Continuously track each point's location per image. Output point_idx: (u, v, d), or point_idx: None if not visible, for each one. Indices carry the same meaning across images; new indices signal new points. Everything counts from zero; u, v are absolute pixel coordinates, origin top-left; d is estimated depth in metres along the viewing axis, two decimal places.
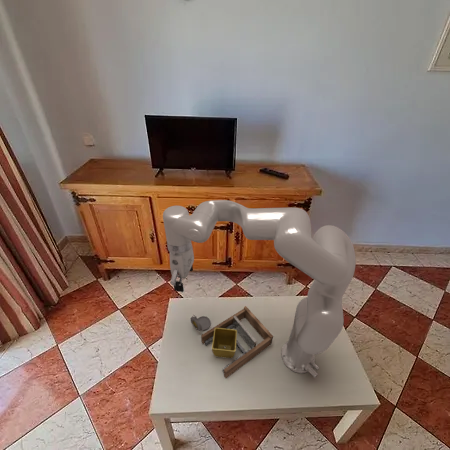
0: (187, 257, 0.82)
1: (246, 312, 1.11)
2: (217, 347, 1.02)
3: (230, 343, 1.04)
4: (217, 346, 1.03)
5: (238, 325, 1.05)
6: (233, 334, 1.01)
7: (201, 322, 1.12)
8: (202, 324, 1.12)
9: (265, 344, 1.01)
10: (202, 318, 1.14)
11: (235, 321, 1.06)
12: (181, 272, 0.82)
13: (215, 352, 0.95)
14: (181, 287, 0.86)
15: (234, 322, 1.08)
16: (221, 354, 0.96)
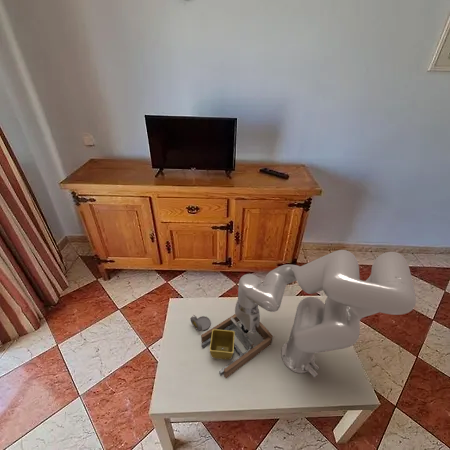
0: None
1: None
2: (215, 349, 1.02)
3: (228, 344, 1.03)
4: (215, 348, 1.02)
5: (235, 327, 1.05)
6: (231, 335, 1.01)
7: (201, 322, 1.12)
8: (202, 324, 1.12)
9: (265, 344, 1.01)
10: (202, 318, 1.14)
11: (232, 323, 1.06)
12: (258, 323, 0.96)
13: (213, 354, 0.95)
14: None
15: (231, 324, 1.07)
16: (219, 356, 0.96)
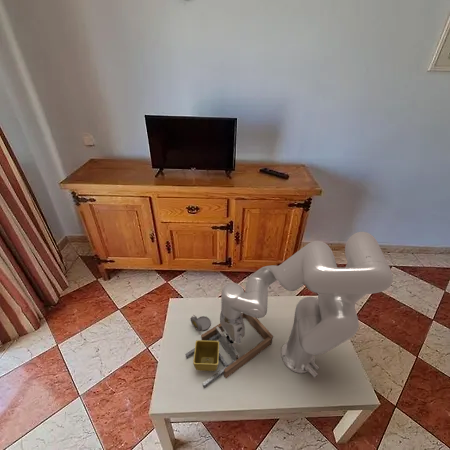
0: None
1: None
2: (199, 360, 0.98)
3: (213, 355, 1.00)
4: (199, 359, 0.98)
5: (221, 336, 1.01)
6: (215, 346, 0.98)
7: (201, 322, 1.12)
8: (202, 324, 1.12)
9: (265, 344, 1.01)
10: (202, 318, 1.14)
11: (218, 332, 1.02)
12: (243, 333, 0.93)
13: (197, 366, 0.91)
14: None
15: (217, 333, 1.04)
16: (203, 368, 0.92)
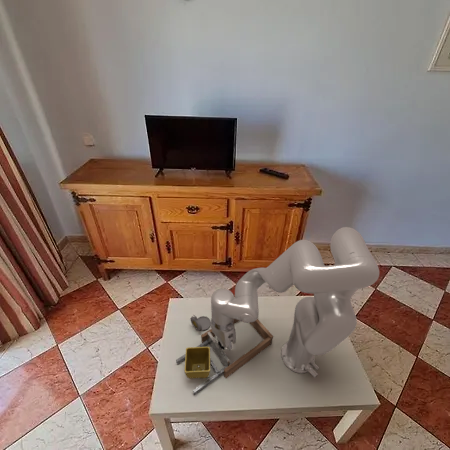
0: None
1: None
2: (191, 368, 0.96)
3: (204, 361, 0.98)
4: (190, 366, 0.96)
5: (212, 342, 0.99)
6: (206, 351, 0.96)
7: (201, 322, 1.12)
8: (202, 324, 1.12)
9: (265, 344, 1.01)
10: (202, 318, 1.14)
11: (209, 338, 1.01)
12: (234, 339, 0.91)
13: (188, 375, 0.89)
14: None
15: (208, 338, 1.02)
16: (195, 376, 0.90)
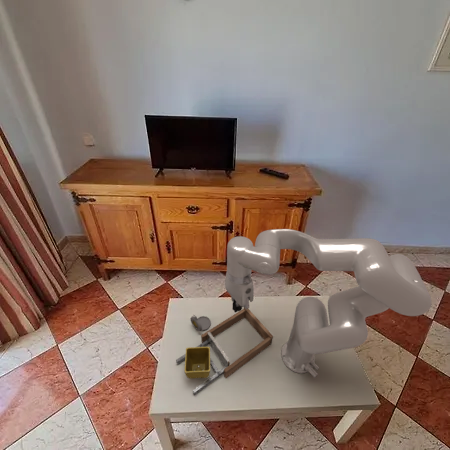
0: None
1: (246, 312, 1.11)
2: (191, 368, 0.96)
3: (204, 361, 0.98)
4: (190, 367, 0.96)
5: (212, 342, 0.99)
6: (206, 351, 0.96)
7: (201, 322, 1.12)
8: (202, 324, 1.12)
9: (265, 344, 1.01)
10: (202, 318, 1.14)
11: (209, 338, 1.01)
12: (252, 296, 0.82)
13: (188, 375, 0.89)
14: None
15: (208, 338, 1.02)
16: (195, 376, 0.90)
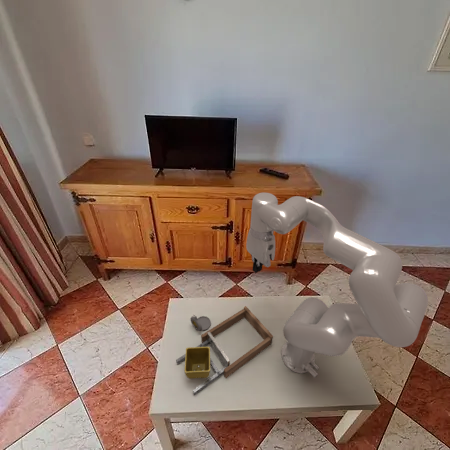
0: None
1: (246, 312, 1.11)
2: (191, 368, 0.96)
3: (204, 361, 0.98)
4: (190, 367, 0.96)
5: (212, 342, 0.99)
6: (206, 351, 0.96)
7: (201, 322, 1.12)
8: (202, 324, 1.12)
9: (265, 344, 1.01)
10: (202, 318, 1.14)
11: (209, 338, 1.01)
12: (273, 254, 0.85)
13: (188, 375, 0.89)
14: (261, 265, 0.93)
15: (208, 338, 1.02)
16: (195, 376, 0.90)
